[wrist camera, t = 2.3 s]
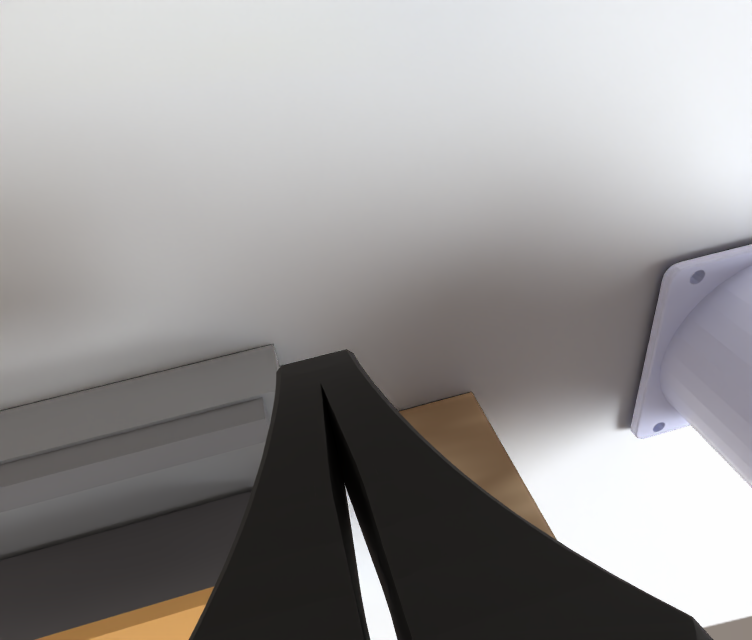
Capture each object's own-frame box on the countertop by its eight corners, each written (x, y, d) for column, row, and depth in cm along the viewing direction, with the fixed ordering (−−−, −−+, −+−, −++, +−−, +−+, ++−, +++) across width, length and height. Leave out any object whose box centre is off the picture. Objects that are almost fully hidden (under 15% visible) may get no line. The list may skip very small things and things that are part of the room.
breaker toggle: (271, 485, 16) (283, 581, 14) (289, 532, 18) (302, 627, 15) (-58, 576, 15) (-107, 697, 13) (-11, 620, 17) (-48, 736, 14)
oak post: (472, 391, 19) (579, 579, 14) (473, 449, 21) (569, 636, 16) (387, 414, 19) (463, 616, 13) (396, 471, 21) (466, 670, 15)
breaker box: (273, 344, 16) (283, 410, 14) (349, 604, 25) (363, 670, 23) (-139, 445, 15) (-199, 536, 13) (95, 683, 24) (84, 761, 22)
